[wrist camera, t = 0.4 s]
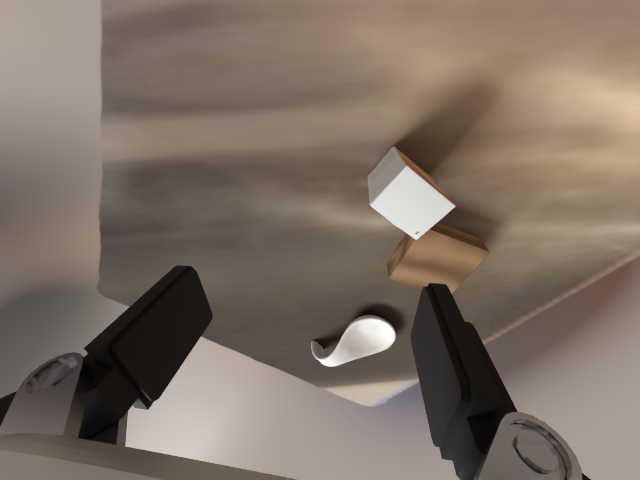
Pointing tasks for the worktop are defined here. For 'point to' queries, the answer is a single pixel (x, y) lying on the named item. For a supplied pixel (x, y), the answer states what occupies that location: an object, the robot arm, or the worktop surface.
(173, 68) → the worktop surface
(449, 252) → the tan block
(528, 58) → the worktop surface
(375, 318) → the spoon rest
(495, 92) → the worktop surface
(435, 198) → the small box
